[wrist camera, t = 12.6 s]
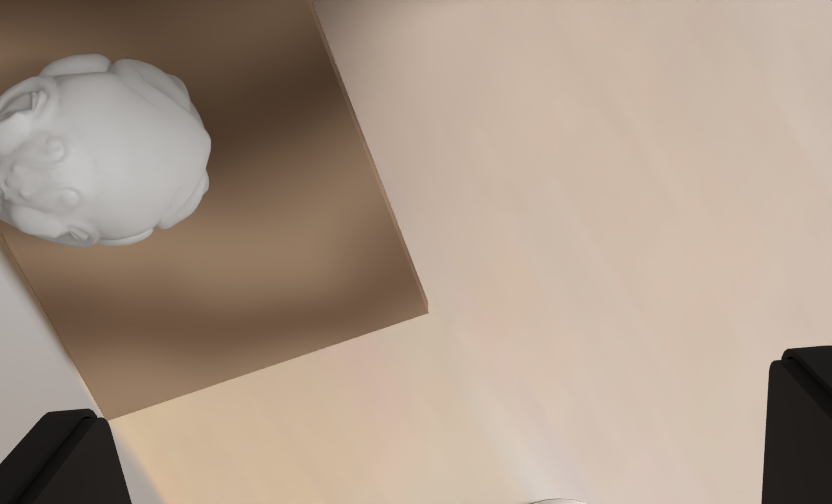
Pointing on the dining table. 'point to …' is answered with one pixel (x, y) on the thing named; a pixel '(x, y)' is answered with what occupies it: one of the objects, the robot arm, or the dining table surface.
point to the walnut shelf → (220, 204)
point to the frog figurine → (100, 152)
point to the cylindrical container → (559, 501)
